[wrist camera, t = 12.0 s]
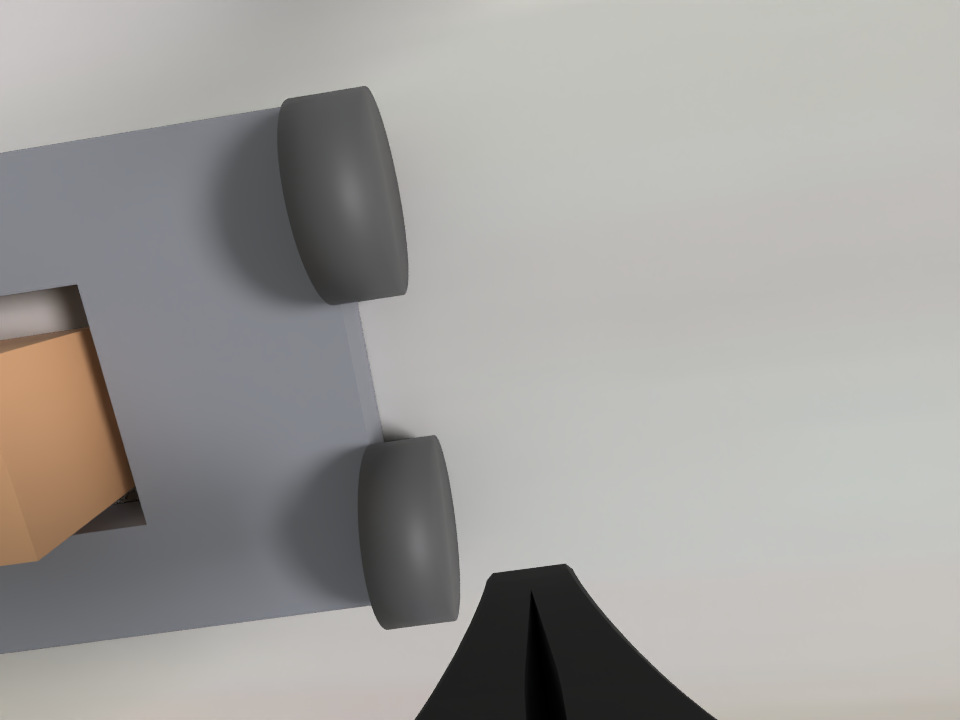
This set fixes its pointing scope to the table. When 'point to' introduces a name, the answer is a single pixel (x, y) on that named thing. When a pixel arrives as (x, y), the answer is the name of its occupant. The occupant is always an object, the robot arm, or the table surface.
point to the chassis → (231, 376)
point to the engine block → (55, 443)
